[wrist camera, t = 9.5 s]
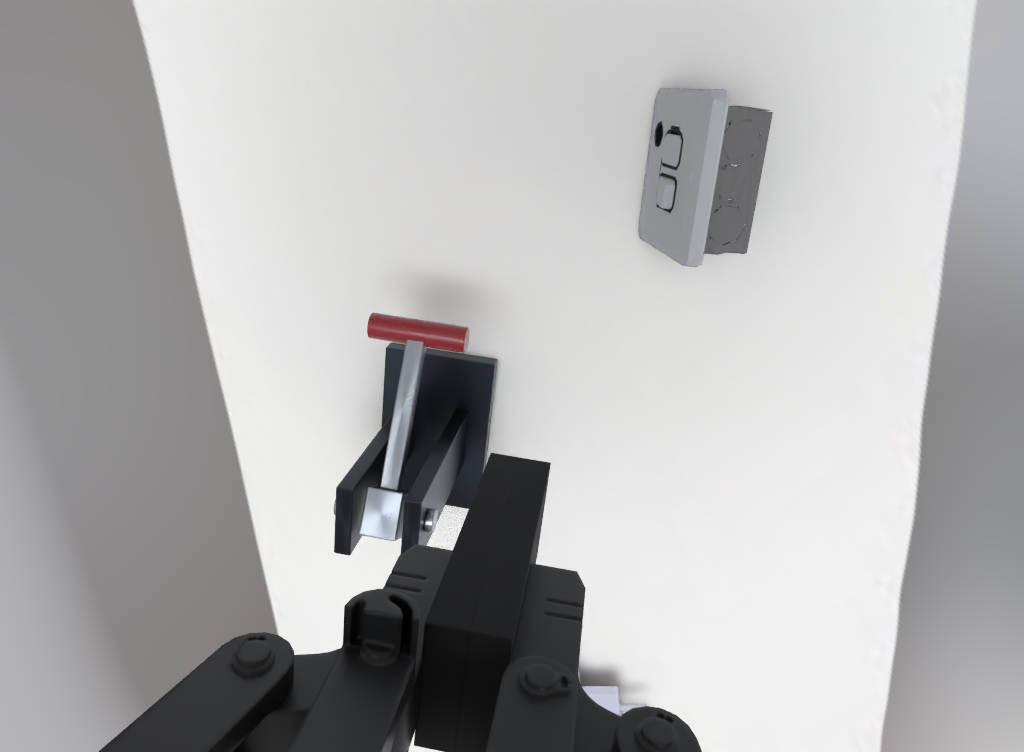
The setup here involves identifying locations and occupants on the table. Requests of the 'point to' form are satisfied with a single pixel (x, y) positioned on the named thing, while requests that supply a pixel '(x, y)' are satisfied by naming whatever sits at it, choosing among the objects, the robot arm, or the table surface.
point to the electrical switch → (702, 174)
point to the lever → (403, 414)
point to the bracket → (426, 445)
